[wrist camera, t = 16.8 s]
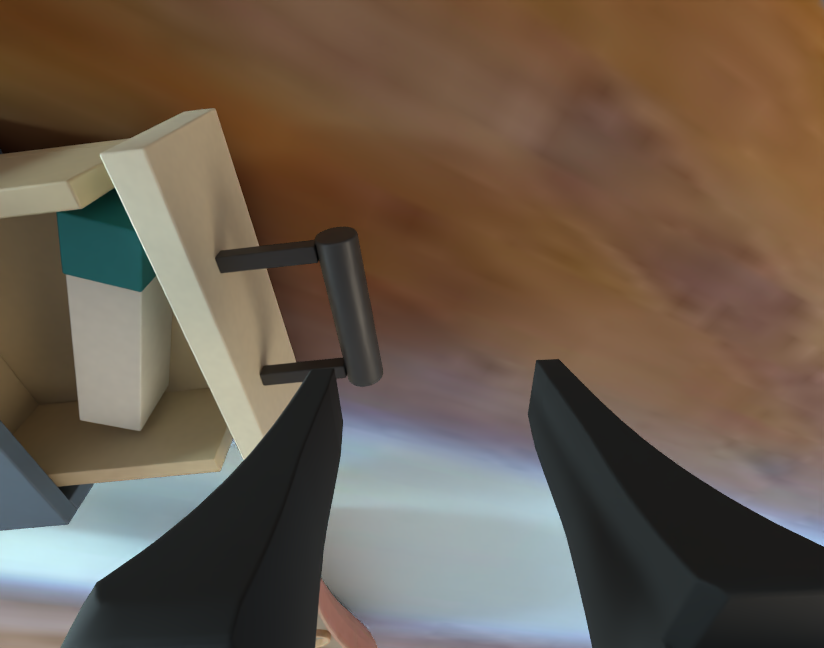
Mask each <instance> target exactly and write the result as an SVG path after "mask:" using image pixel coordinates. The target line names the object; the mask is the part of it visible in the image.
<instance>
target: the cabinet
mask: <svg viewBox="0 0 824 648" xmlns="http://www.w3.org/2000/svg"><path fill="white" fill-rule="evenodd" d="M0 154H3V153H2V151H1V149H0ZM93 484H94V483H91V484H80V485H69V486H59V487H57V486H56V485H55V483H54V482H53V481H52V480H51V479H50V478H49V476H48V475H47V474H46V473H45V472H44V471H43V469H42V468H41V467H40V466H39V465H38V464H37V462H36V461H35V460H34V459H33V458H32V457H31V455H30V454H29V453H28V452H27V451H26V450H25V448H24V447H23V446H22V445H21V444H20V443H19V441H18V440H17V439H16V438H15V437H14V436H13V434H12V433H11V432H10V431H9V430H8V429H7V427H6V426H5V425H4V424H3V423H2V422H1V420H0V531H1V530H12V529H23V528H34V527H45V526H57V525H67V524H69V522H70V521H71V519H72V518H73V516H74V515H75V513H76V511H77V509H78V508H79V507H80V505H81V503H82V502H83V500H84V499H85V497H86V495H87V494H88V492H89V491H90V489H91V488H92V486H93Z"/></svg>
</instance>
